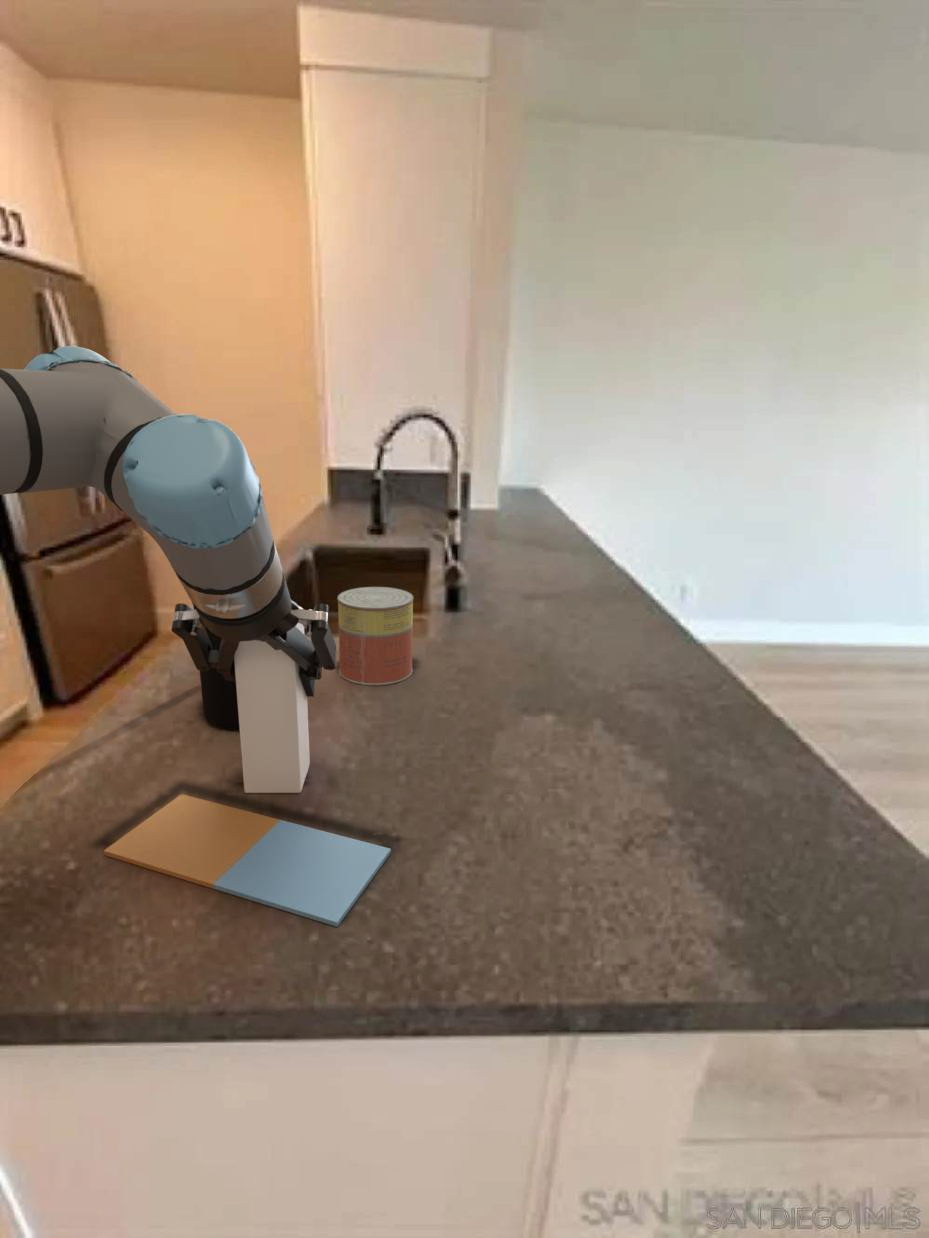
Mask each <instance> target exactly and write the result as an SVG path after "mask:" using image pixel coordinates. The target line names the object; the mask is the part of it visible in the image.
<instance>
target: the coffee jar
mask: <svg viewBox="0 0 929 1238" xmlns="http://www.w3.org/2000/svg"><path fill="white" fill-rule="evenodd" d="M192 607H193V610H195V607H194V606H193V605H192ZM204 627H205V626H204ZM205 629H206V632H207V634H208V637H209V640H210V642H211V645H212V650H217V651H220V643H221V642H222V638H221V637H219V636H217V635H215V634H214V633H212V632H211V631H210V630H209V629H208V628H207V627H205ZM199 681H200V691H201V698H202V699H201V702H202V709H203V712H204V715H205V717H206V718H207V719H209V721H210V722H211V723H212V724H213V725H214V726H217V727H218V728H219V727H220V728H222V729H228V730H235V731H236V730H240V728H239V715H238V702H237V689H236V684H235V682H234V681H228V680H226V679H225V678H224V676H223V675H222V673H219V672H217V668H212V667H210V669H209V670H208V671H200V670H199Z"/></svg>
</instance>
